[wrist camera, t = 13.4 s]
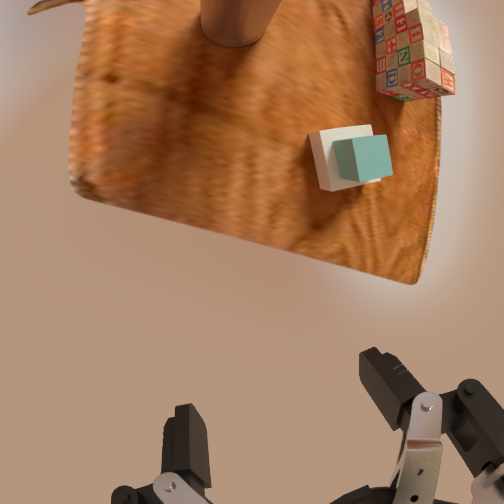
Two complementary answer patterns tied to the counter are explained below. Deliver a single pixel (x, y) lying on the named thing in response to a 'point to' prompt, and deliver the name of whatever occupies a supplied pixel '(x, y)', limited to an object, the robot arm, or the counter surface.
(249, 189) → the counter surface
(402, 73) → the stack of blocks
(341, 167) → the teal cube
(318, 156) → the white square block
